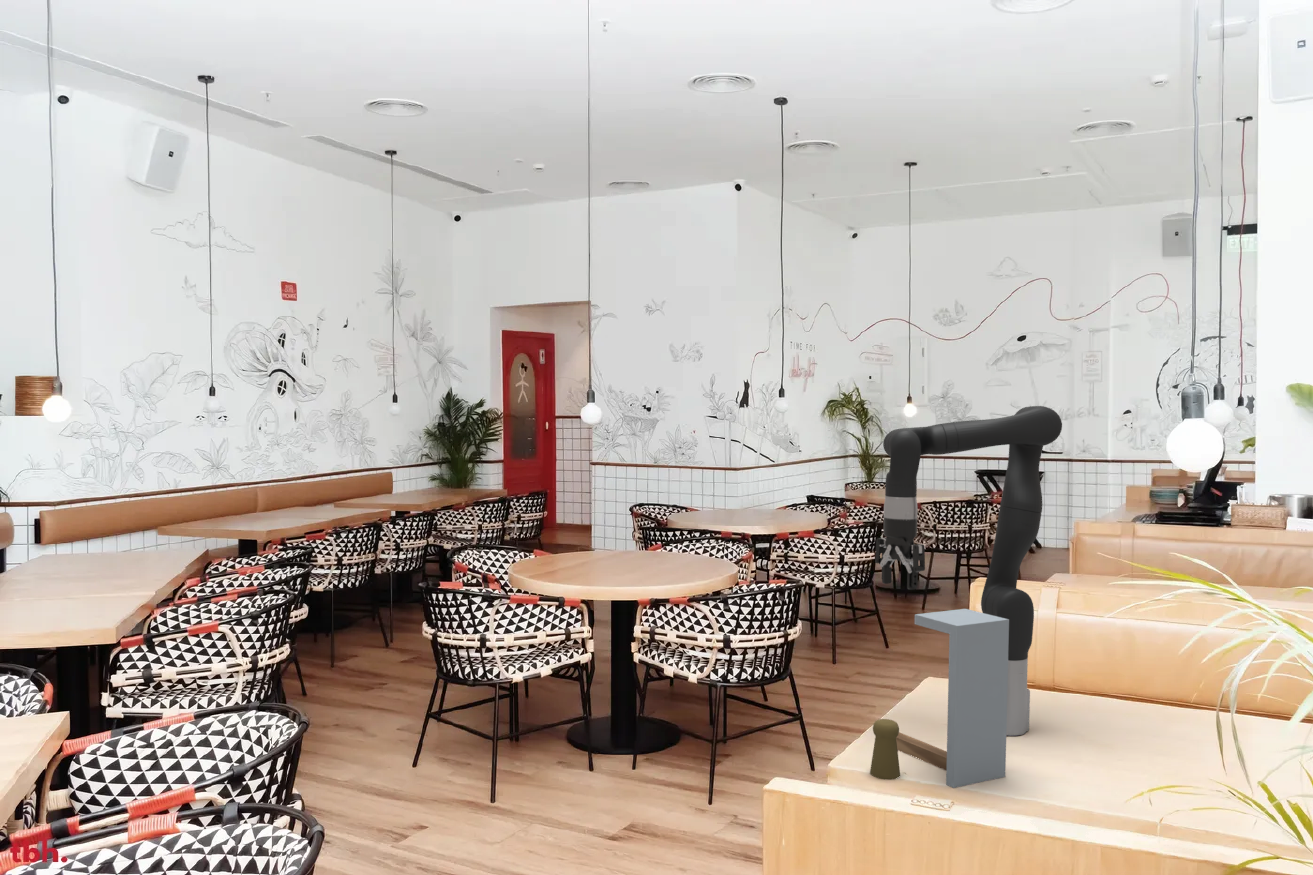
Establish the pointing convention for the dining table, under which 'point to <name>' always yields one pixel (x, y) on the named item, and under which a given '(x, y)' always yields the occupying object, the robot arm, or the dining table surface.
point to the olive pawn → (885, 750)
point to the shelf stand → (974, 693)
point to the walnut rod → (922, 750)
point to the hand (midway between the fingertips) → (899, 586)
